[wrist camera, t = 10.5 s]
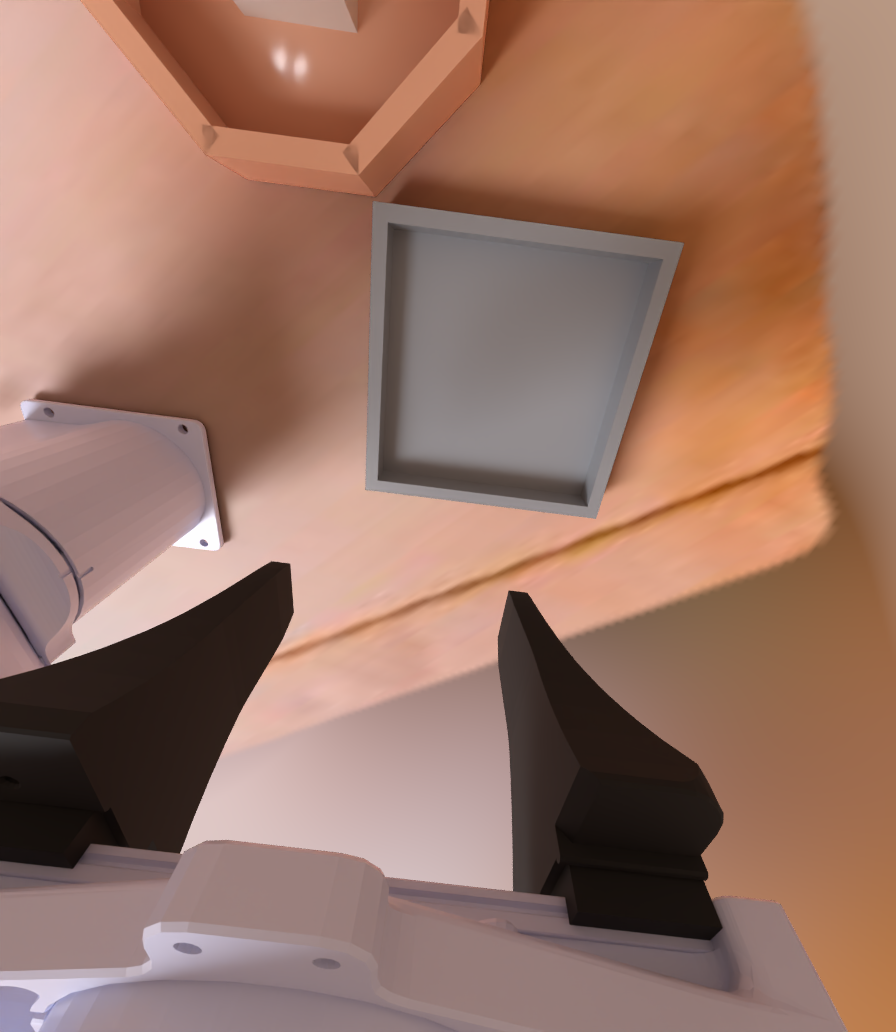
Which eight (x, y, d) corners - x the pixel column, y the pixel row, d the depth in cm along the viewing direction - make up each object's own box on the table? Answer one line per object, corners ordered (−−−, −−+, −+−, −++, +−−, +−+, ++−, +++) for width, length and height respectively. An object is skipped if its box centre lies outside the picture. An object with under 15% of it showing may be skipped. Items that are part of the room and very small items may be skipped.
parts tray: (373, 475, 23) (365, 489, 21) (382, 212, 17) (372, 200, 15) (585, 502, 23) (595, 518, 21) (662, 250, 17) (684, 242, 15)
